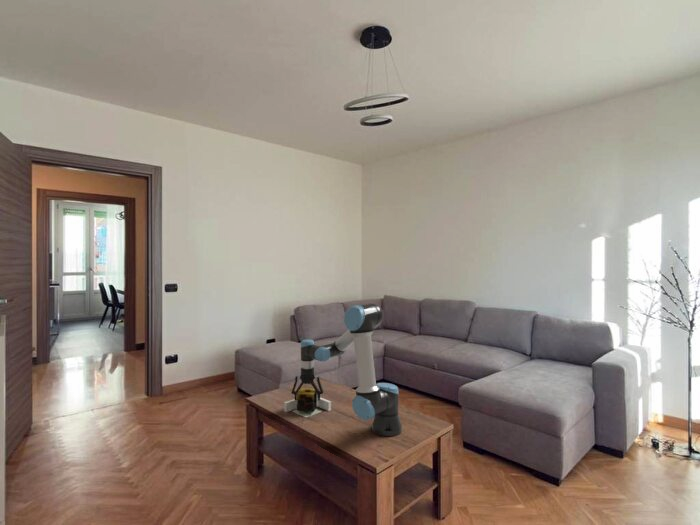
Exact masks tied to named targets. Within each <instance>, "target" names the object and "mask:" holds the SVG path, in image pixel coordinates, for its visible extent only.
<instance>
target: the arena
mask: <svg viewBox="0 0 700 525" xmlns="http://www.w3.org/2000/svg"><path fill="white" fill-rule="evenodd" d="M317 408H320V409H323V410H326V411H327V412H330V411H332V401H331V400H328V399H326V398H323V397H321V396H320V400H318V407H317ZM294 410H297V400H295V398H293V399H291V400H287V401H284V402H283V412H285V413H288V412H290V411H291V412H292V411H294Z"/></svg>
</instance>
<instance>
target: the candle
mask: <svg viewBox="0 0 700 525" xmlns="http://www.w3.org/2000/svg"><path fill="white" fill-rule="evenodd" d="M315 409H318V407H317V392H316V391H315V389H314V387H301V388H300V390H299V391H298V393H297V409H296V410H297V411H309V412H314V410H315Z"/></svg>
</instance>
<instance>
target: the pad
mask: <svg viewBox="0 0 700 525" xmlns="http://www.w3.org/2000/svg"><path fill="white" fill-rule="evenodd" d="M292 412H293V413H295V414H297V415H299V416H301V417H303V418H309V417H312V416H314V415H316V414H319V413H322V412H323V410H321V409H319V408H316V409H315V410H314V412H309V411H297V409H294V410H292Z"/></svg>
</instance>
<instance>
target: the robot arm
mask: <svg viewBox="0 0 700 525" xmlns="http://www.w3.org/2000/svg"><path fill="white" fill-rule="evenodd" d="M384 315H385V314H384V310H383V309H382V308H381V306H380V305H378V304H376V303H366V304H365V303H364V304H357V305H352V306H350V307H348V308H347V310H346V311H345V314H344V315H343V316H344V317H343V320H344V321H343V323H344V325H345V327H346V329H347V330H346V331H344V333H343V334H342V335H340V337H338V338H337V339H336V340H335V341H334V342H332V343H331V342H330V343H328V344H323V345H316V344H315V341H314V340H313V339H303V340H301V342H300V376H298V375H295V378H294V383H293V386H292V390H291V395H294V399H295V400H297V393H298V392H299V391H300V389H301V388H303V387H302V386H303V385H307V384H308V385H311V386H312V388H314V389H315V391H316V392H317V408H319V407H318V400H320V397H321V395H323V393H324V389H323V386H322V383H321V380H320V375H317V376H316V375H315V368H314V367H315V361H318V362H328V360H329V359H330V358H334V357H335V358H336V357H339V356H343V355H344V354H345V353H346V351H347V349H348V348H350V347H351V346H352V345H353V344H354V355H355V363H356V373H357V384H358V385H357V386H358V387H356V388H355V394H356V396H354V398H352V402H351V405H352V406H351V407H352V410H353V412H354V414H355V415H356V416H357V418H359V419H360V420H363V421H368V420H371V419H373V421H372V424H371V426H372V427H371V430H372V432H373V433H374V434H376V435H379V436H382V437H394V436H398V435H400V434H401V433H402V431H403V425H402V423H401V419H400V416H399V399H400V398H399V397H400V396H399V395H400V393H399V387H398V386H397V385H395V384H393V383H389V382H378V383H377V382H376V370H375V362H374V352H373V351H374V350H373V342H372V335H373V334H374V332H375V329H376V328H377V327H379V325H381V324H382V322H383V320H384ZM314 380H316V381H317V382H316V383H317V385H316V383H315V381H314ZM299 381H301V382H300V384H299V386H297V384H298V382H299ZM296 386H297V387H296ZM317 386H318V387H317ZM296 388H297V389H296Z"/></svg>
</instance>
